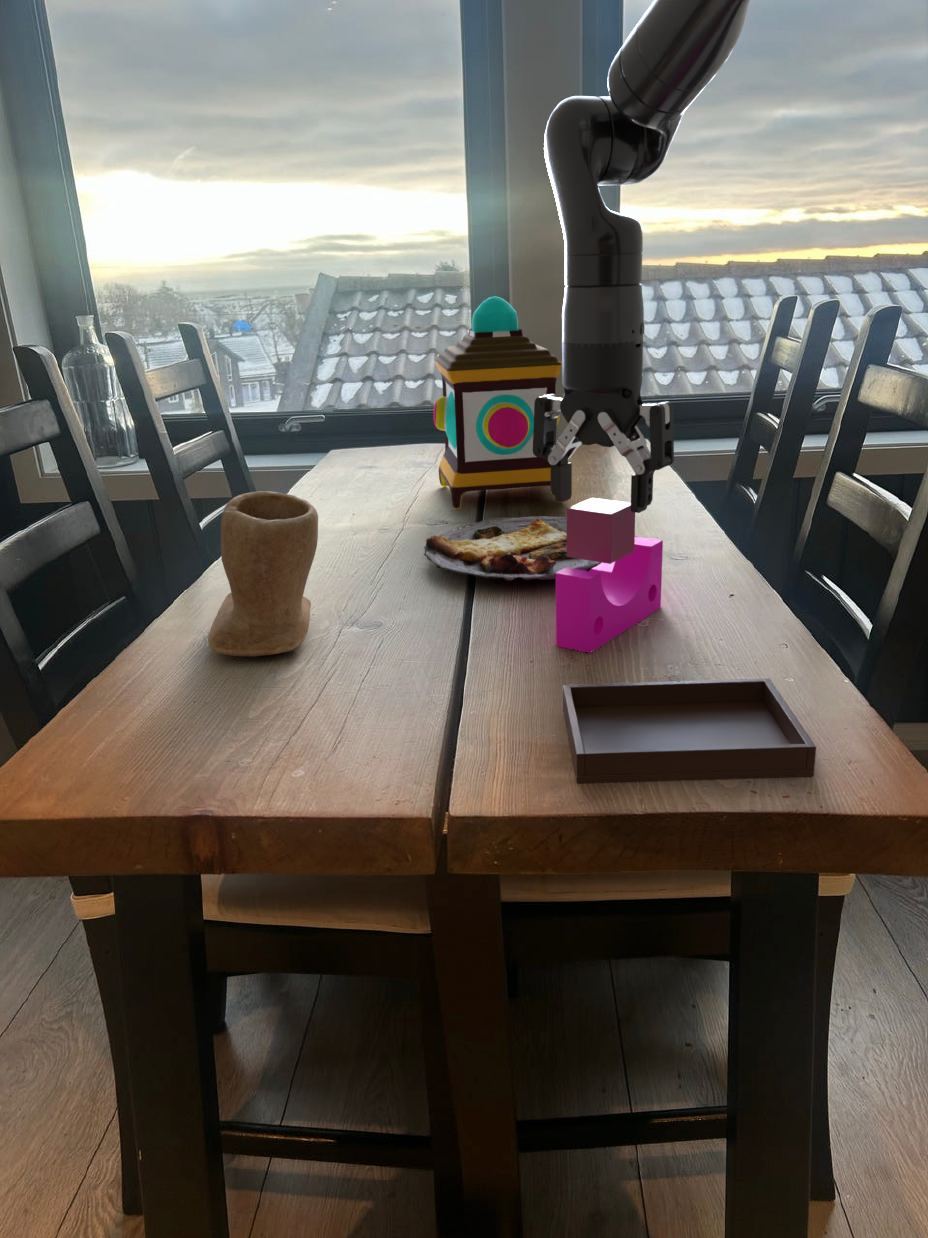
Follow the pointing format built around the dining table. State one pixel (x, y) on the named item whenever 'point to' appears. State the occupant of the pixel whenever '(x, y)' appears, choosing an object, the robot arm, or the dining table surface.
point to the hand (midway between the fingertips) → (600, 505)
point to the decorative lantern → (492, 404)
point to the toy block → (608, 597)
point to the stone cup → (265, 574)
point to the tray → (684, 731)
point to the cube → (600, 530)
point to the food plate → (506, 549)
